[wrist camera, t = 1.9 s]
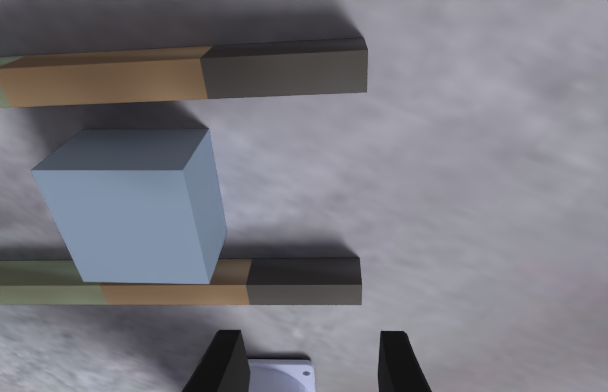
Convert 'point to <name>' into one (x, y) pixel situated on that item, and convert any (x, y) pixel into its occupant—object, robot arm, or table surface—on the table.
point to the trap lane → (188, 86)
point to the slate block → (137, 204)
